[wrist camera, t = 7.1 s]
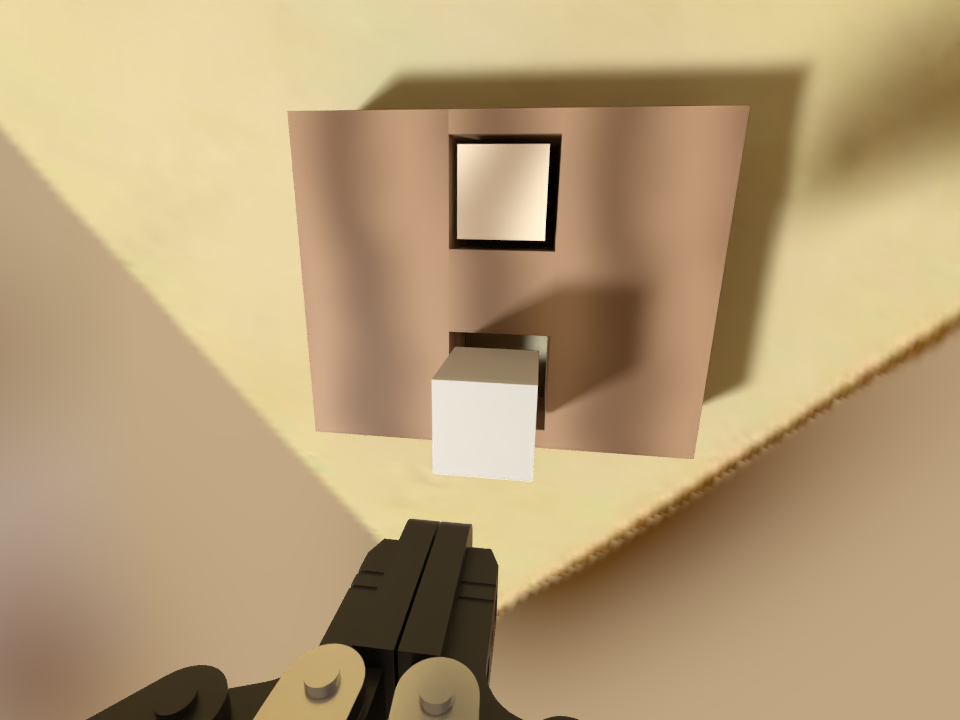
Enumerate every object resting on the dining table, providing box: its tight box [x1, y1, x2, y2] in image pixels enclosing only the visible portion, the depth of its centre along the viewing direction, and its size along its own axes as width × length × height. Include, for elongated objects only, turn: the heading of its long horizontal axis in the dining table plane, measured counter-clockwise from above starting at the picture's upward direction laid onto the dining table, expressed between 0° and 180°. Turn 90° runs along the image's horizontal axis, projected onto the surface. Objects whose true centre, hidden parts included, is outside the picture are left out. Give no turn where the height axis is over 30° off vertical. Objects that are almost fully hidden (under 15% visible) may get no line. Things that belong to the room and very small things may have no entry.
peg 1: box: [457, 144, 550, 241], centre depth 23 cm, size 4×4×5 cm
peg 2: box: [432, 347, 539, 482], centre depth 20 cm, size 4×4×5 cm
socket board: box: [288, 105, 750, 459], centre depth 25 cm, size 20×16×5 cm
